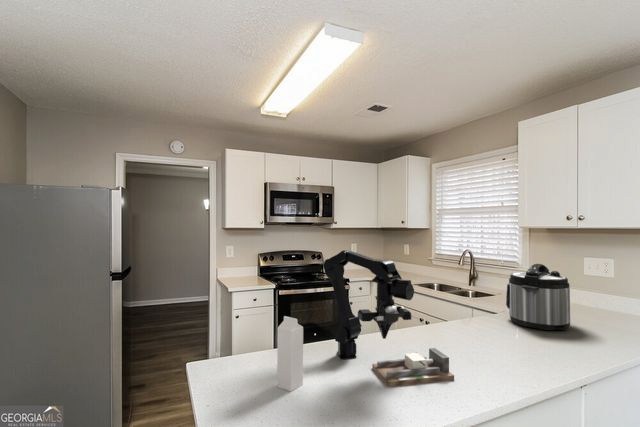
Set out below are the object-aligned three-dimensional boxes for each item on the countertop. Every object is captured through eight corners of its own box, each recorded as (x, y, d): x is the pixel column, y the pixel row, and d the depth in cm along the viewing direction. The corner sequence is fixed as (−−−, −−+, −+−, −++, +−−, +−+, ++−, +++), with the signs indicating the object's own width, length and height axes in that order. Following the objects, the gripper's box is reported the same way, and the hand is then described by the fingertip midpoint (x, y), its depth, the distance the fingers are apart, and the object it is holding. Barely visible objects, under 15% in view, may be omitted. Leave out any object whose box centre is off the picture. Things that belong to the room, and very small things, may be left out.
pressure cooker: (541, 315, 193) (540, 260, 194) (587, 331, 166) (586, 266, 166) (494, 317, 189) (493, 261, 190) (533, 334, 161) (533, 267, 162)
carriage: (417, 377, 111) (417, 365, 111) (404, 365, 121) (404, 353, 121) (442, 374, 113) (442, 362, 113) (427, 363, 123) (427, 352, 123)
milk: (289, 379, 113) (289, 313, 114) (303, 384, 110) (303, 316, 110) (276, 386, 108) (277, 317, 109) (290, 392, 105) (291, 321, 105)
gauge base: (387, 386, 108) (387, 366, 109) (372, 368, 122) (372, 350, 122) (454, 379, 113) (454, 360, 114) (432, 362, 127) (432, 345, 127)
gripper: (367, 301, 112) (366, 348, 112) (418, 300, 116) (418, 345, 116) (357, 293, 123) (356, 336, 123) (405, 292, 127) (404, 334, 127)
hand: (384, 338), depth 122 cm, fingers closed
